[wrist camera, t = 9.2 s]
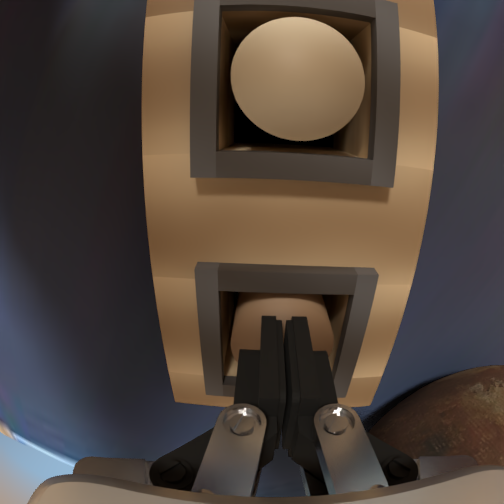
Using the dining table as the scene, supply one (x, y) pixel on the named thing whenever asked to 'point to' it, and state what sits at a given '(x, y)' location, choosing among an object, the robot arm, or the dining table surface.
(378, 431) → the pottery
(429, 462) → the robot arm
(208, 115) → the oak block
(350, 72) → the maple peg
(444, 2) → the dining table surface
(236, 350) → the walnut peg
